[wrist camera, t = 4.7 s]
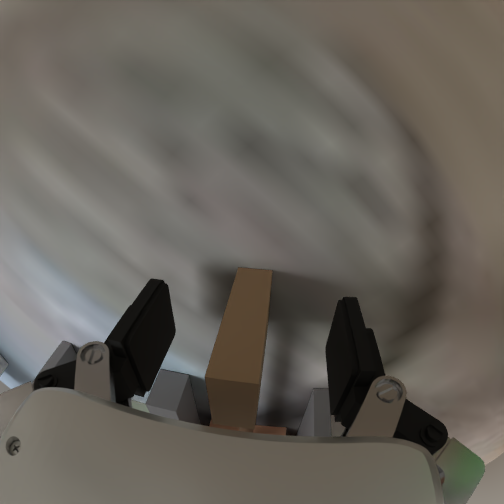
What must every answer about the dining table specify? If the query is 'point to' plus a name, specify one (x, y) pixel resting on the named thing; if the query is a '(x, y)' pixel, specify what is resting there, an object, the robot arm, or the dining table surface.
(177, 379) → the lane shelf
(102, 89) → the dining table surface
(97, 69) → the dining table surface
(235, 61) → the dining table surface
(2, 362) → the medicine box
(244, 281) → the tied block
